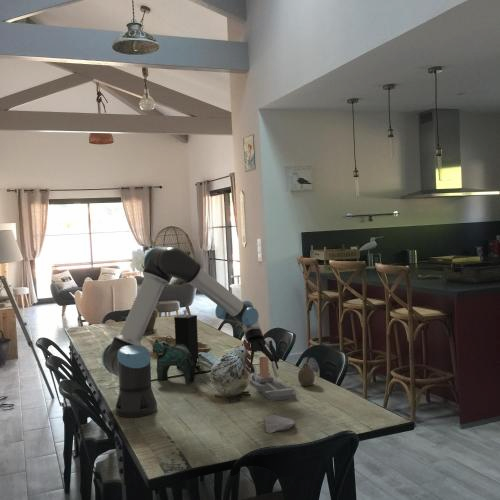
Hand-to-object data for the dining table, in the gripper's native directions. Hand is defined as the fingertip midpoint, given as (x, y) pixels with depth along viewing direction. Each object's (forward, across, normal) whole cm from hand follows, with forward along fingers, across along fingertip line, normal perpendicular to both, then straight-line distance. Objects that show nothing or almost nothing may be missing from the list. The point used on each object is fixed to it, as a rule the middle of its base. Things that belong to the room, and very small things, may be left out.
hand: (267, 377), depth 228 cm
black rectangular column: (-30, +23, -36) cm, 52 cm away
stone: (+33, +12, +27) cm, 44 cm away
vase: (+6, -16, 0) cm, 17 cm away
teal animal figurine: (-16, +33, -22) cm, 43 cm away
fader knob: (-1, 0, -4) cm, 4 cm away
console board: (+6, 0, +1) cm, 6 cm away
